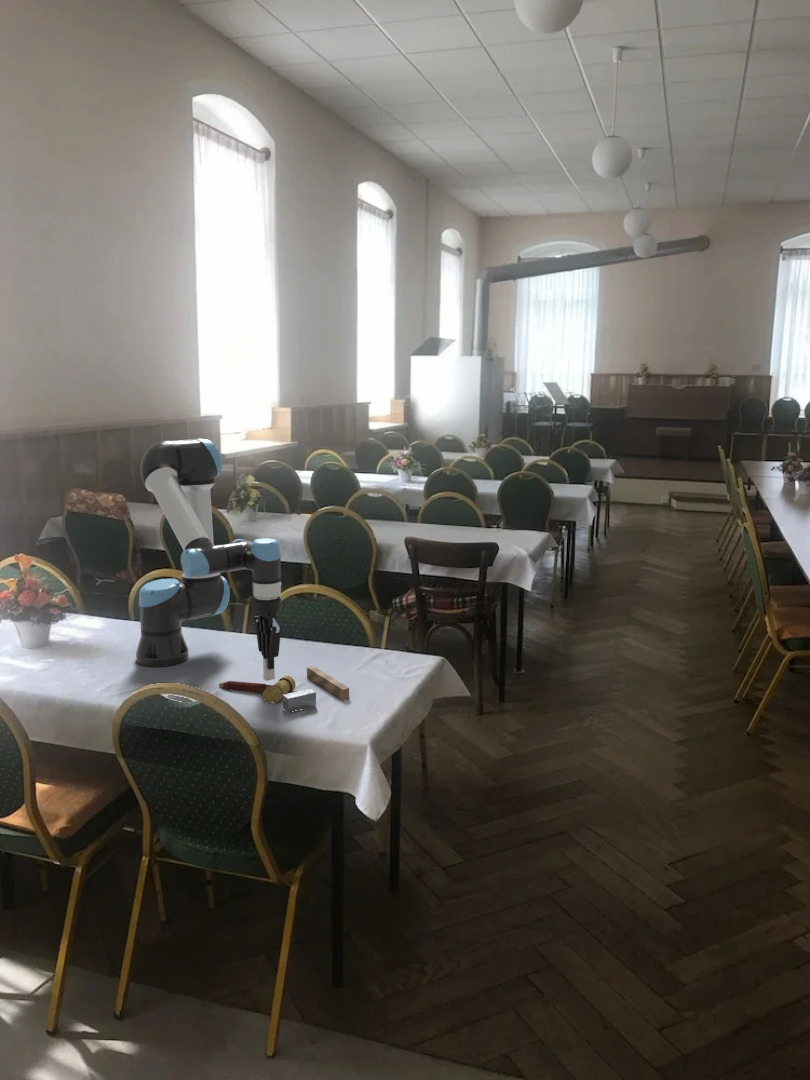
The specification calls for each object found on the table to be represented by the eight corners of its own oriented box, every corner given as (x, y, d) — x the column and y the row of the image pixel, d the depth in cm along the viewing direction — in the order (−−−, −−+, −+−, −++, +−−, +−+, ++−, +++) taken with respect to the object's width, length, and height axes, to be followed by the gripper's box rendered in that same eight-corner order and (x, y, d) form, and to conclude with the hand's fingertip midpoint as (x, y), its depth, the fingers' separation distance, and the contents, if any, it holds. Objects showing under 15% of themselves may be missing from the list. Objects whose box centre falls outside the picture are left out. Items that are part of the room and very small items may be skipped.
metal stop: (283, 709, 219) (282, 694, 219) (310, 702, 224) (310, 688, 223) (288, 713, 217) (288, 698, 216) (316, 706, 221) (315, 692, 221)
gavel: (208, 683, 229) (228, 670, 238) (209, 699, 230) (229, 686, 239) (277, 688, 222) (295, 676, 231) (278, 705, 223) (296, 692, 232)
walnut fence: (306, 677, 242) (306, 667, 241) (313, 675, 243) (313, 665, 243) (342, 700, 226) (342, 689, 225) (349, 698, 227) (349, 687, 226)
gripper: (290, 599, 227) (292, 683, 231) (269, 589, 237) (271, 669, 242) (264, 604, 222) (266, 689, 227) (244, 592, 233) (246, 674, 238)
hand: (269, 679), depth 235 cm, fingers closed
